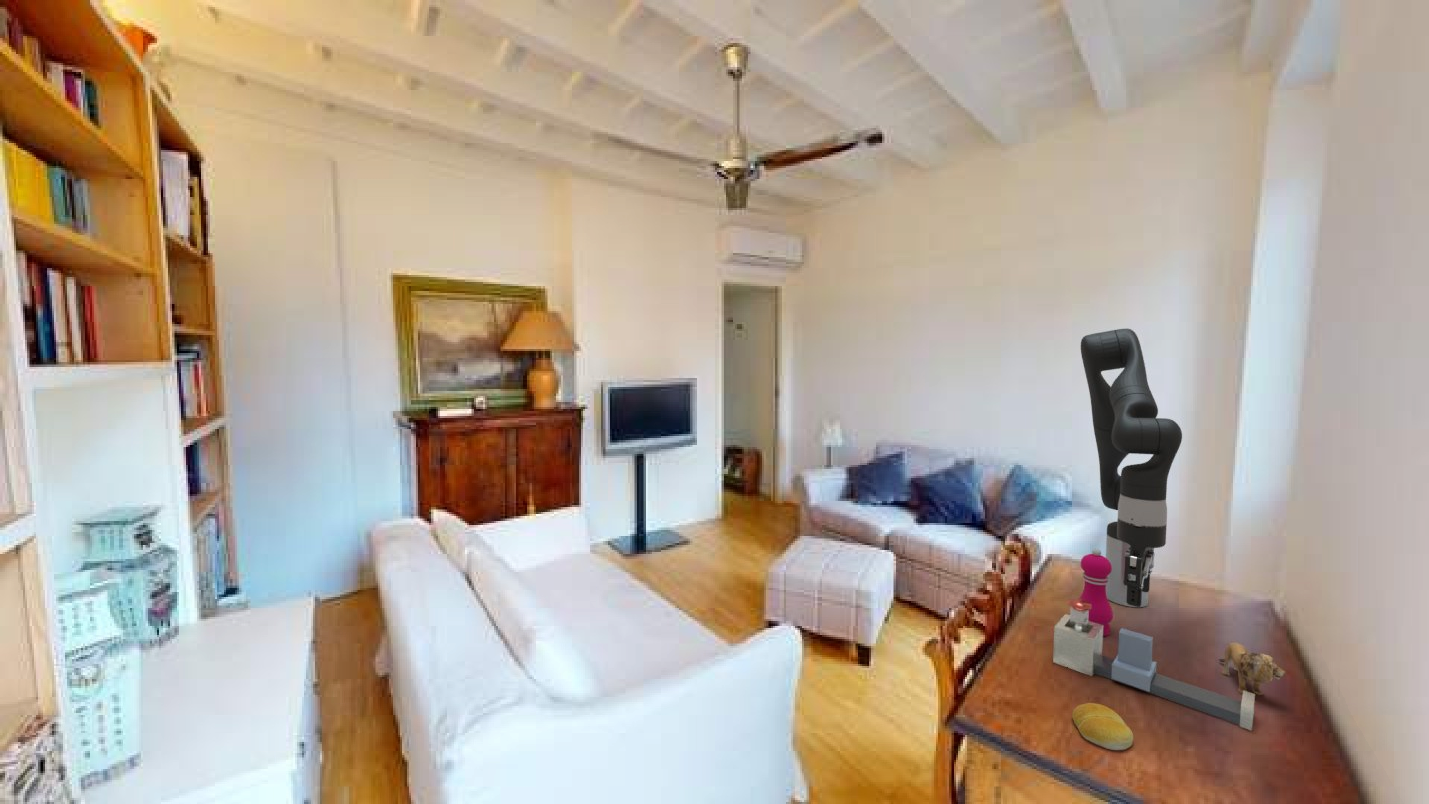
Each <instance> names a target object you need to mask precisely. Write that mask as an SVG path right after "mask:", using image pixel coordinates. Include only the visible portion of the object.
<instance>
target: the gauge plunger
mask: <svg viewBox="0 0 1429 804" xmlns="http://www.w3.org/2000/svg"><path fill="white" fill-rule="evenodd" d="M1079 598H1080V597H1079ZM1079 598H1077V597H1070V598H1068V605H1069V606H1070V613H1069V615H1070V628H1072V629H1075V630H1078V631H1082V632H1087V631H1088V616H1089V610H1090V609H1091V603H1090V602H1088V601H1086V600H1083V599H1079Z"/></svg>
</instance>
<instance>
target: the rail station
mask: <svg viewBox="0 0 1429 804" xmlns="http://www.w3.org/2000/svg"><path fill="white" fill-rule="evenodd" d="M1053 631H1054V633H1053V654H1052V655H1053V657H1052V658H1053V659H1052V660H1053V663H1054V664H1057V665H1059V666H1062V667H1065V668H1067V667H1068V669H1071V670H1073V671H1077V672H1078V673H1079V672H1080V673H1082V674H1084V675H1087V676H1090V677H1093V676H1094V674H1095V675H1097V676H1101V677H1103V678H1105V679H1109V680H1111V681H1115V682H1117V683H1120V684H1122V685H1125V686H1128V687H1131V688H1134V689H1138V690H1140V691H1143V692H1145V693H1148V694H1152V695H1153V694H1155V695H1154V696H1156V697H1159V696H1161V697H1160V698H1162V699H1165V700H1167V699H1168V701H1171V702H1174V703H1176V704H1179V705H1181V706H1185V707H1187V706H1188V707H1187V708H1191V709H1193V708H1195V709H1194V710H1196V709H1197V710H1196V711H1198V710H1199V711H1198V712H1201V711H1204V712H1205V713H1204V712H1203V713H1204V714H1207V713H1208V714H1207V715H1210V714H1211V715H1210V716H1212V715H1213V717H1215V716H1217V717H1216V718H1218V717H1220V718H1219V719H1221V718H1222V720H1224V719H1226V720H1228V721H1227V722H1229V721H1231V722H1230V723H1232V722H1234V723H1233V724H1235V723H1236V724H1235V725H1238V726H1239V728H1243V729H1245V730H1247V731H1250V732H1251V731H1252V732H1253V724H1254V723H1253V722H1254V715H1255V713H1254V711H1255V702H1256V701H1255V700H1256V699H1255V698H1256V693H1254V692H1250V691H1244V690H1243V693H1242V695H1241V700H1238V699H1235V698H1233V697H1230V696H1227V695H1223V694H1221V693H1217V692H1214V691H1211V690H1209V689H1205V688H1202V687H1199V686H1195V685H1193V684H1190V683H1187V682H1184V681H1182V680H1181V681H1180V680H1179V679H1174V678H1172V677H1169V676H1166V675H1162V674H1159V673H1157V672H1156V673H1155V674H1154V676H1153V678H1152V681H1151V685H1150V692H1148V691H1145V690H1142V689H1140V688H1137V687H1134V686H1131V685H1128V684H1125V683H1123V682H1120V681H1117V680H1114V679H1111V676H1112V663H1113V662H1114V660H1115V658H1111V657H1110V656H1109V657H1108V656H1105V655H1103V643H1104V636H1103V625H1101V624H1097V623H1094V622H1091V621H1088V631H1087V632H1082V631H1078V630H1075V629H1072V628H1070V614H1066V613H1065V614H1064V615H1063V616H1062V617H1061V618H1060V620H1059V621H1058V622H1057V623H1056V624H1055V626H1054V630H1053ZM1226 720H1225V721H1226Z"/></svg>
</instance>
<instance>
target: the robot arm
mask: <svg viewBox="0 0 1429 804" xmlns="http://www.w3.org/2000/svg"><path fill="white" fill-rule="evenodd" d="M1141 347H1142V346H1141V343H1140V340H1139V337H1138V334H1136V332H1135V331H1134V330H1133V329H1130V328H1118V329H1114V330H1113V329H1111V330H1108V331H1107V330H1106V331H1102V332H1097V333H1091V334H1086V335H1084V336H1083V337H1082V338H1081V340H1080V353H1081V354H1080V355H1081V359H1082V364H1083V369H1084V372H1085V374H1084V375H1085V377H1086V383H1087V387H1088V392H1089V398H1090V407H1091V416H1092V426H1093V433H1094V437H1095V443H1096V448H1097V449H1096V450H1097V453H1098V455H1097V456H1098V462H1099V463H1098V465H1099V483H1100V497H1101V501H1102V503H1103V505H1104V506H1105V507H1106V508H1107V509H1111V510H1114V511H1117V521H1112V522H1109V523H1108V524H1107V526H1106V542H1105V543H1106V544H1105V545H1106V546H1105V558H1107V559H1108V560H1109V561H1110V563H1111V566H1112V571H1111V573H1110V574H1109V575H1108V578H1109V580H1108V582H1109V583H1108V584H1106V596H1107V599H1108V601H1111V602H1112V603H1114V604H1118V605H1121V606H1125V607H1130V608H1144V607H1147V606H1148V604H1149V602H1148V601H1149V591H1150V585H1151V574H1152V573H1153V570H1152V569H1153V568H1154V566H1155V562H1154V559H1155V551H1154V550H1155V549H1157V548H1162V547H1165V545H1166V543H1167V525H1168V524H1167V523H1168V505H1167V491H1168V490H1167V489H1168V478H1169V473H1170V470H1171V468H1172V464H1173V462H1174V461H1175V458H1176V455H1177V453H1178V451H1179V449H1180V446H1181V443H1182V439H1183V433H1182V432H1183V431H1182V429H1181V427H1180V425H1179V423H1177V422H1176V421H1175V420H1173V419H1171V418H1164V417H1163V418H1160V417H1158V414H1159V408H1158V405H1157V403H1156V400H1155V398H1154V396H1153V392H1151V388H1150V386H1149V383H1148V376H1147V370H1146V365H1145V364H1146V363H1145V360H1144V355H1143V351H1142V348H1141ZM1120 369H1123V370H1121V372H1120V374H1118V376H1117V377H1116V378H1115V379H1114V381H1113V382H1112V384H1111V385H1109V383H1108V382H1107V380H1106V379H1105V378H1104V377H1103V374H1102V372H1103V371H1111V370H1120ZM1129 454H1131V455H1132V454H1135V455H1152V456H1151V457H1150V459H1148V460H1147V461H1144V462H1142V463H1135V464H1129V465H1126V466H1124V467H1122V469H1121V472H1120V474H1119V471H1118V468H1119V466H1120V465H1121V464H1122V462H1123V460H1124V459H1126V458H1127V456H1128V455H1129Z"/></svg>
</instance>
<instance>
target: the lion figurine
mask: <svg viewBox="0 0 1429 804" xmlns="http://www.w3.org/2000/svg"><path fill="white" fill-rule="evenodd" d="M1224 652H1225V653H1224V658H1220V659H1218V661H1219V663H1224V664H1223V670H1222V671H1221V673H1222V675H1224V676H1228V677H1229V676H1231V675H1230V664H1231V662H1232V664H1233V669H1234V670H1235V671H1236V672H1237V673H1238V674H1237V676H1238V689H1237V691H1238V692H1239V693H1240V694H1243V690H1244V691H1247V690H1248V689H1247V685H1246V684H1247V683H1246V682H1247V680H1248V681H1250V682H1251V683H1253V684H1252V688H1251V689H1252V691H1253V694H1255V695H1258V696H1262V695H1263V694H1264V692H1263V691H1261V690H1260V686H1261V685H1263V684H1265V683H1268V682H1272V681H1273V679H1274V678H1275V679H1277V680H1280V679H1281V677H1283V676H1284V674H1286V671H1285V670H1284V669H1282V668H1281V667H1280V666H1278V665H1277V663H1275V662H1274V658H1273V657H1272V656H1271V655H1268V654H1264V653H1263V652H1262V653H1261V652H1260V653H1259V652H1258V653H1257V652H1256V653H1255V652H1248V650H1247V648H1246V646H1244V645H1242V644H1240V643H1238V642H1231V643H1229V644H1227V646H1226V648H1225V651H1224ZM1247 692H1248V691H1247Z"/></svg>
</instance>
